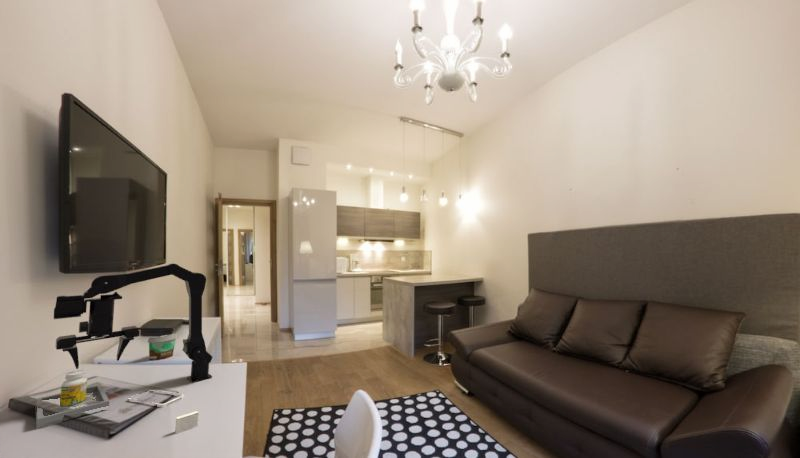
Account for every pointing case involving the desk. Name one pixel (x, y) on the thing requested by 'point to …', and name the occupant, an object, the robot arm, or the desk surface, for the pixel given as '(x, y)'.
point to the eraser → (186, 421)
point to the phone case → (169, 401)
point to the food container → (161, 346)
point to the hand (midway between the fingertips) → (98, 364)
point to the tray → (57, 417)
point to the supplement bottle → (73, 389)
